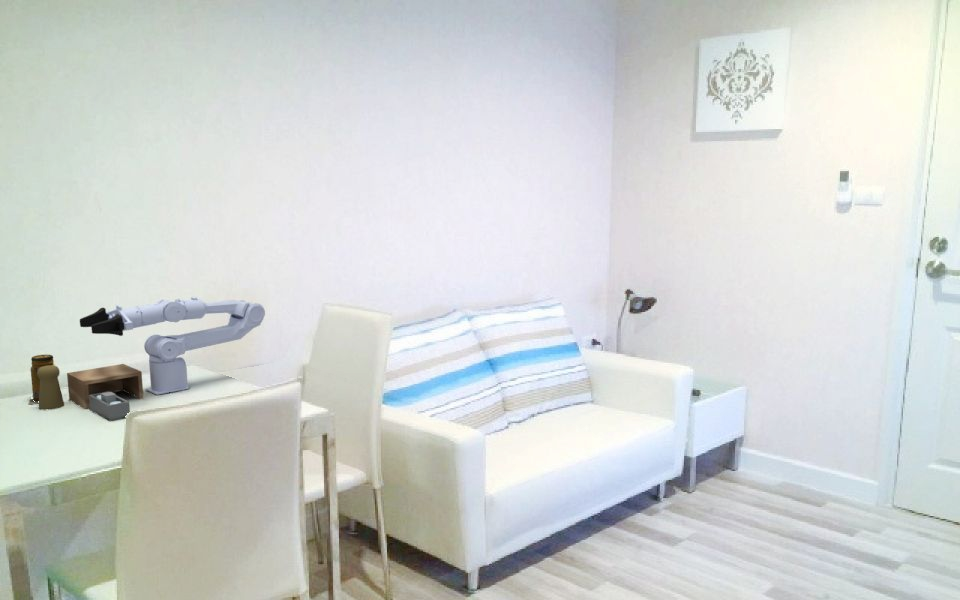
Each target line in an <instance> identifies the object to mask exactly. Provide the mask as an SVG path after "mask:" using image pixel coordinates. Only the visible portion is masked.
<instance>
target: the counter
mask: <svg viewBox="0 0 960 600" xmlns="http://www.w3.org/2000/svg"><path fill="white" fill-rule="evenodd" d="M142 374H143V373H142V371H141V370H139V369H137V368H134V367H132V366H130V365H127V364H125V363H121V364H114V365H109V366H103V367H97V368H91V369H85V370H78V371H72V372H67V373H66V377H67V378H66V379H67V389H68V400H69V401H71V402H73V403H74V404H76V405H78V406H79V405H80V407H82V408H83V409H85V410H89V409H88V408H90V404H89V395H92V394H98V393H103V392H112V393H116V392H125V393H127V394H129V395H131V396H134V397H136V398H138V399H144V388H143V375H142Z"/></svg>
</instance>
